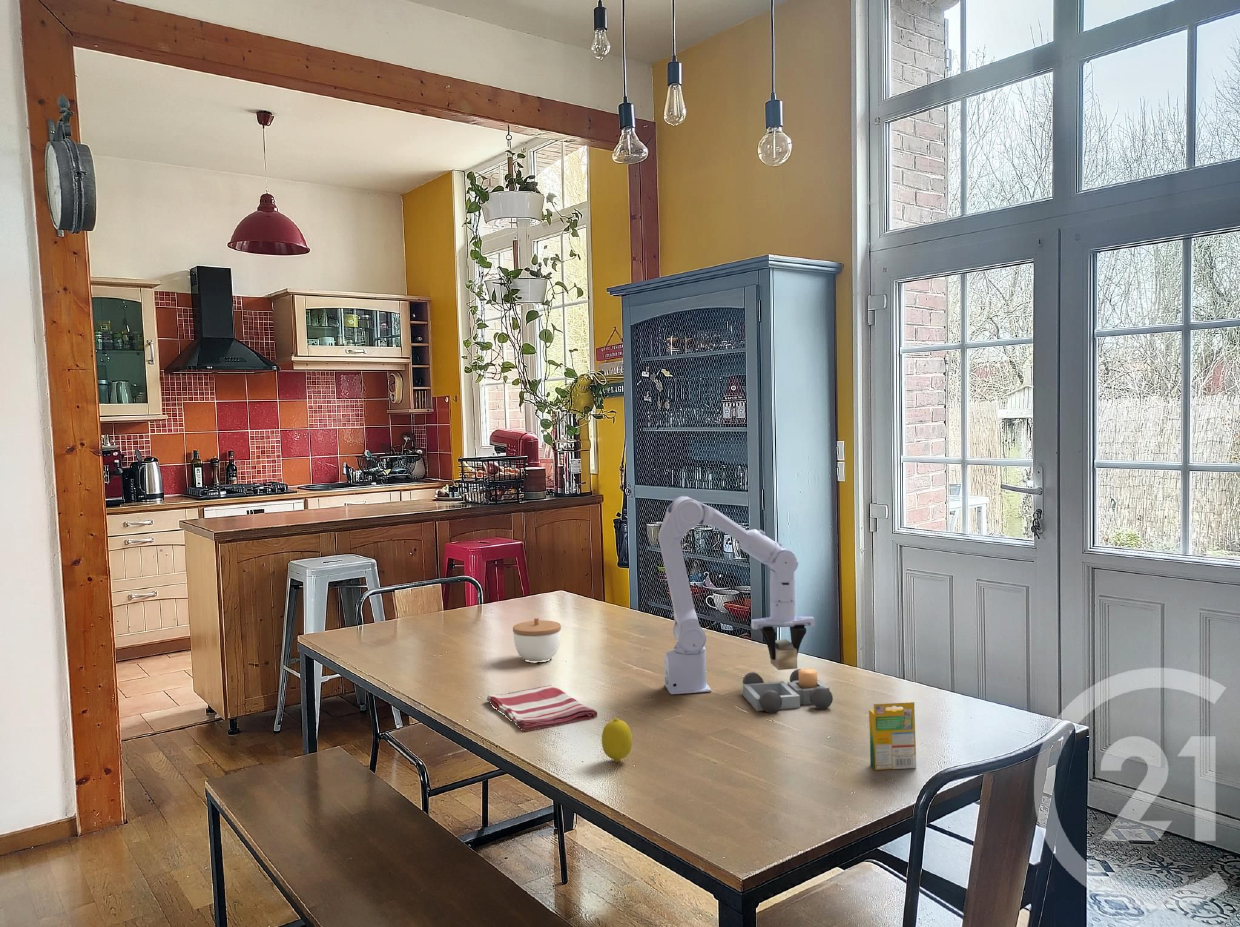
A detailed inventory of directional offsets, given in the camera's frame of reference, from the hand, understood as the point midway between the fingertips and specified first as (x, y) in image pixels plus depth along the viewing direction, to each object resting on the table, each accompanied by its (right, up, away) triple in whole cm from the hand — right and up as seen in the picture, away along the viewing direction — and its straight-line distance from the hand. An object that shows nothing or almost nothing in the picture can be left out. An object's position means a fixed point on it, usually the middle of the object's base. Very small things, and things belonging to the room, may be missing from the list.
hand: (783, 658), depth 201 cm
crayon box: (+10, -8, -50) cm, 51 cm away
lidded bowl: (-60, -7, +28) cm, 66 cm away
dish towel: (-55, -9, -13) cm, 58 cm away
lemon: (-38, -9, -44) cm, 59 cm away
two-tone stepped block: (0, -2, 0) cm, 2 cm away
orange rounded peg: (+3, -4, -12) cm, 13 cm away
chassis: (-2, -7, -12) cm, 14 cm away
